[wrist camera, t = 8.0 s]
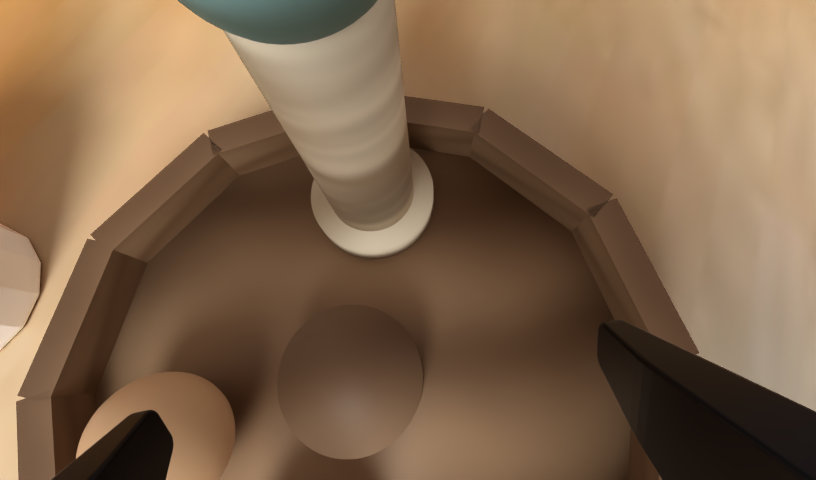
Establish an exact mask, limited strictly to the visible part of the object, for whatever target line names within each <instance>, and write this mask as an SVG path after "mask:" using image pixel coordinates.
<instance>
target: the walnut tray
mask: <svg viewBox="0 0 816 480" xmlns="http://www.w3.org/2000/svg"><path fill="white" fill-rule="evenodd" d="M404 98H405V108H406V118H407V128H408V138H409V147H410V148H411V149H412V150H414V151H415V152H416V153H417V154H418V155H419V156H420V157H421V158H422V159H423V161H424V162H425V164H426V165H427V167H428V169H429V171H430V174H431V177H432V181H433V213H432V216H431V220H430V222H429V225H428V227H427V229H426V230H425V232H424V233H423V235H422V236H421V237H420V238H419V240H417V241H416V242H415V243H414V244H413V245H412V246H411V247H409V248H408V249H406V250H405V251H403V252H401V253H399V254H396V255H394V256H390V257H386V258H380V259H367V258H360V257H357V256H353V255H351V254H348V253H346V252H345V251H343V250H341V249H340V248H339V247H337V246H336V245H335V244H334V243H333V242H332V241H331V240H330V239H329V238H328V236H327V235H326V234H325V232H324V231H323V230H322V228H321V227H320V226H319V224H318V222H317V220H316V219H315V216H314V213H313V210H312V205H311V188H312V184H313V180H314V177H313V176H312V174H311V173H310V171H309V169H308V168H307V166H306V164H305V163H304V161H303V160H302V158H301V156H300V155H299V153H298V151H297V150H296V148H295V147H294V145H293V143H292V142H291V140H290V138H289V137H288V135H287V133H286V132H285V130H284V129H283V127H282V125H281V124H280V122H279V120H278V119H277V117H276V116H275V114H274V112H273V111H269V112H265V113H262V114H259V115H256V116H253V117H250V118H246V119H243V120H240V121H237V122H234V123H231V124H228V125H224V126H221V127H218V128H215V129H212V130H209V131H208V134H209V138H208V137H207V136H206V135H205V134H204V133H203V134H202V135H201V136H200V137H199V138H198V139H196V140H195V141H194V142H193V143H192V144H191V145H190V146H189V147H188V148H186V149H185V150H184V151H183V152H182V153H181V154H180V155H179V156H178V157H176V158H175V159H174V160H173V161H172V162H171V163H170V164H169V165H168V166H166V167H165V168H164V169H163V170H162V171H161V172H160V173H159V174H157V175H156V176H155V177H154V178H153V179H152V180H151V181H150V182H149V183H147V184H146V185H145V186H144V187H143V188H142V189H141V190H140V191H139V192H137V193H136V194H135V195H134V196H133V197H132V198H131V199H130V200H128V201H127V202H126V203H125V204H124V205H123V206H122V207H121V208H120V209H118V210H117V211H116V212H115V213H114V214H113V215H112V216H111V217H110V218H108V219H107V220H106V221H105V222H104V223H103V224H102V225H101V226H100V227H98V228H97V229H96V230H95V231H94V232H93V233H92V234H91V236H92V237H93V238H94V239H95V240H91V239H87V241H86V243H85V245H84V248H83V250H82V252H81V254H80V257H79V259H78V261H77V263H76V265H75V268H74V270H73V272H72V274H71V277H70V279H69V281H68V283H67V286H66V288H65V290H64V292H63V295H62V297H61V299H60V301H59V304H58V306H57V308H56V310H55V313H54V315H53V317H52V319H51V322H50V324H49V326H48V328H47V331H46V333H45V335H44V337H43V340H42V342H41V344H40V346H39V349H38V351H37V353H36V355H35V358H34V360H33V362H32V364H31V366H30V369H29V371H28V373H27V375H26V378H25V380H24V382H23V384H22V387H21V389H20V391H19V393H18V396H21V397H25V398H26V399H23V400H20V401H17V402H16V410H17V441H18V473H19V480H51V479H52V478H53V477H55V476H56V475H57V474H58V473H60V472H61V471H62V470H63V469H64V468H66V467H67V466H68V465H69V464H70V463H72V462H73V461H74V460H75V459H76V454H77V449H78V445H79V442H80V439H81V436H82V434H83V431H84V429H85V427H86V426H87V424H88V422H89V421H90V419H91V417H92V416H93V415H94V413H95V412H96V411H97V409H98V408H99V407H100V406H101V405H102V404H103V403H104V402H105V401H106V400H107V399H108V398H109V397H111V396H112V395H113V394H114V393H115V392H117V391H118V390H119V389H121V388H122V387H124V386H126V385H128V384H129V383H131V382H133V381H135V380H137V379H140V378H142V377H145V376H148V375H152V374H156V373H163V372H185V373H191V374H194V375H197V376H200V377H202V378H204V379H206V380H208V381H210V382H211V383H213V384H214V385H215V386H216V387H217V388H218V389H219V390H220V391H221V392H222V393H223V394H224V395H225V397H226V398H227V400H228V402H229V404H230V406H231V408H232V411H233V415H234V420H235V442H234V447H233V451H232V454H231V457H230V460H229V462H228V464H227V466H226V468H225V470H224V472H223V474H222V475H221V477H220V479H219V480H662V478H661V477H660V475H659V474H658V472H657V470H656V469H655V467H654V466H653V464H652V463H651V461H650V459H649V458H648V456H647V455H646V453H645V451H644V450H643V448H642V447H641V445H640V443H639V442H638V440H637V438H636V437H635V435H634V433H633V431H632V429H631V427H630V425H629V423H628V421H627V419H626V417H625V415H624V413H623V411H622V409H621V407H620V405H619V403H618V401H617V399H616V397H615V395H614V393H613V391H612V389H611V387H610V385H609V383H608V381H607V379H606V377H605V375H604V373H603V371H602V369H601V367H600V365H599V362H598V358H597V341H598V327H599V325H600V324H601V323H603V322H607V321H612V320H623V321H626V322H628V323H630V324H632V325H634V326H636V327H638V328H641V329H643V330H645V331H647V332H649V333H651V334H653V335H655V336H657V337H659V338H662V339H664V340H666V341H668V342H670V343H672V344H674V345H676V346H678V347H681V348H683V349H685V350H687V351H689V352H691V353H693V354H698V353H699V352H698V350H697V348H696V346H695V344H694V342H693V340H692V339H691V337H690V335H689V333H688V331H687V329H686V327H685V325H684V324H683V322H682V320H681V318H680V316H679V314H678V312H677V311H676V309H675V307H674V305H673V303H672V301H671V299H670V297H669V296H668V294H667V292H666V290H665V288H664V286H663V284H662V283H661V281H660V279H659V277H658V275H657V273H656V271H655V269H654V268H653V266H652V264H651V262H650V260H649V258H648V256H647V255H646V253H645V251H644V249H643V247H642V245H641V243H640V241H639V240H638V238H637V236H636V234H635V232H634V230H633V228H632V227H631V225H630V223H629V221H628V219H627V217H626V215H625V213H624V212H623V210H622V208H621V206H620V204H619V202H618V200H617V199H613V200H610V201H608V200H609V199H610V197H611V196H612V195H613V194H611V193H610V192H609V191H607V190H606V189H604V188H603V187H601V186H600V185H598V184H597V183H595V182H594V181H593V180H591V179H590V178H588V177H587V176H585V175H584V174H582V173H581V172H579V171H578V170H577V169H575V168H574V167H572V166H571V165H569V164H568V163H566V162H565V161H563V160H562V159H561V158H559V157H558V156H556V155H555V154H553V153H552V152H550V151H549V150H547V149H546V148H545V147H543V146H542V145H540V144H539V143H537V142H536V141H534V140H533V139H531V138H530V137H529V136H527V135H526V134H524V133H523V132H521V131H520V130H518V129H517V128H515V127H514V126H513V125H511V124H510V123H508V122H507V121H505V120H504V119H502V118H501V117H499V116H498V115H497V114H495V113H494V112H492V111H491V110H489V109H488V110H487V111H486V112H485V113H484V114H483V110H484V107H479V106H472V105H464V104H457V103H450V102H443V101H436V100H428V99H421V98H414V97H407V96H404ZM607 201H608V202H607Z"/></svg>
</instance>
